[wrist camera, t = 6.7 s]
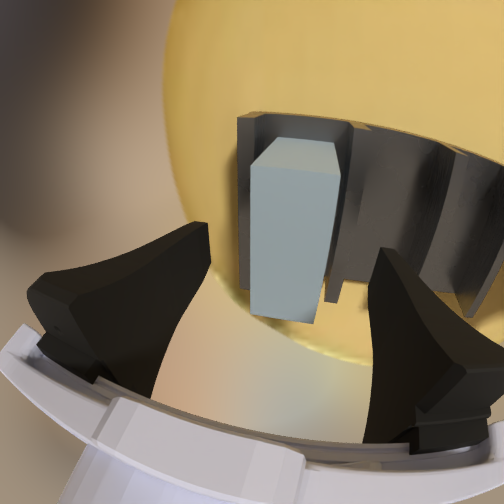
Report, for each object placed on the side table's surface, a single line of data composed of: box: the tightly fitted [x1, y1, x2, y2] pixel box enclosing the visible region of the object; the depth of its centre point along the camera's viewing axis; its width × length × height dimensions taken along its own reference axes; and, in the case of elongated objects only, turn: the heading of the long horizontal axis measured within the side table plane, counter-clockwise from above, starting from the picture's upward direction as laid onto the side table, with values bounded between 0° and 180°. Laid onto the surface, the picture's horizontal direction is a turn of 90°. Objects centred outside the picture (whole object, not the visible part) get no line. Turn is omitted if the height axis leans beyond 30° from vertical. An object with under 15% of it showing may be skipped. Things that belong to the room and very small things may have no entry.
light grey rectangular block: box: [250, 137, 341, 324], centre depth 13 cm, size 3×7×6 cm, turn 179°
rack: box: [237, 112, 504, 318], centre depth 14 cm, size 17×10×4 cm, turn 89°
